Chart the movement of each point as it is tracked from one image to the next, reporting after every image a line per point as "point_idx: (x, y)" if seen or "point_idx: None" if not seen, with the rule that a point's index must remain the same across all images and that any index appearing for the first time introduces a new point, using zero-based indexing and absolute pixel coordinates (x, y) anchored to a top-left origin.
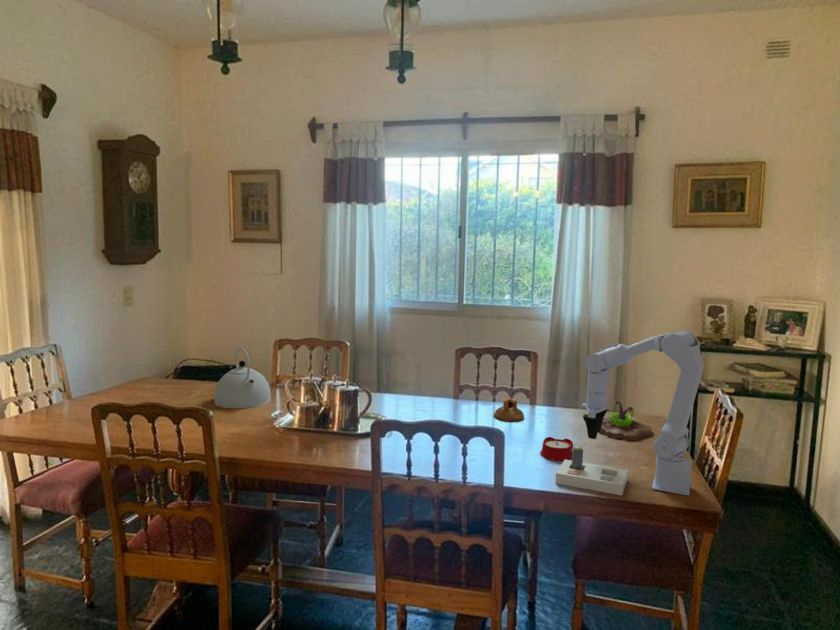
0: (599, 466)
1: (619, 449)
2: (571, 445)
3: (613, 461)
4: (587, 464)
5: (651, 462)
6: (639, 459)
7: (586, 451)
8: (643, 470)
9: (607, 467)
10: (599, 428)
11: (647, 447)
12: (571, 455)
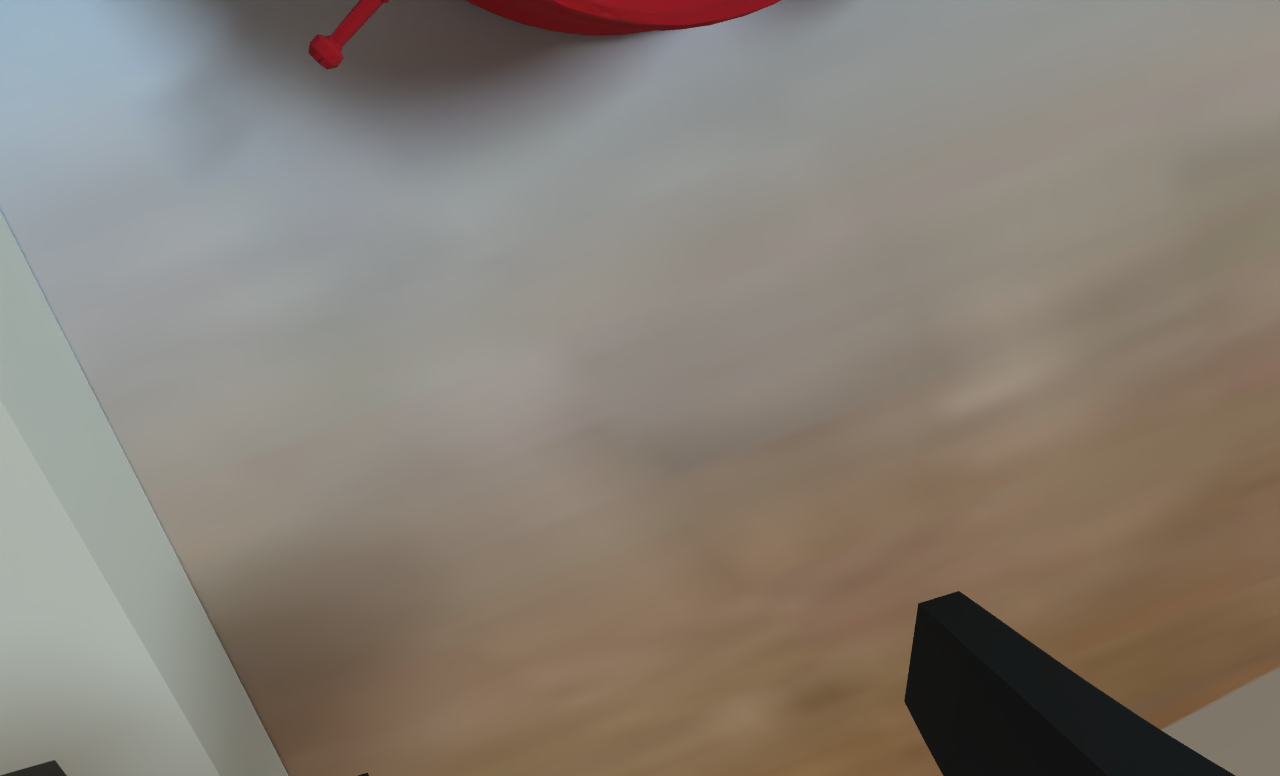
0: (111, 698)
1: (1163, 394)
2: (721, 16)
3: (770, 493)
4: (22, 568)
5: (897, 700)
6: None
7: (997, 107)
8: (663, 745)
9: (170, 765)
10: (949, 770)
11: (1257, 542)
12: (585, 22)
